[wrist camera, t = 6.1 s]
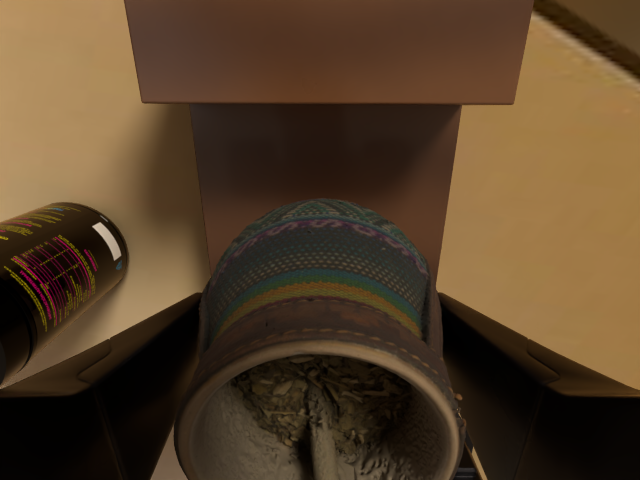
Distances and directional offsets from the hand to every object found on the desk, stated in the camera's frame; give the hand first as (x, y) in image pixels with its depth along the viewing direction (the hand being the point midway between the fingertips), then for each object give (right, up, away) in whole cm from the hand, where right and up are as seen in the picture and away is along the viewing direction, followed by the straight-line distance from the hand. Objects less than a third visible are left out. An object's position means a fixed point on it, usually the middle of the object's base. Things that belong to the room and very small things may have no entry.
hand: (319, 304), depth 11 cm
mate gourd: (0, +1, +3) cm, 3 cm away
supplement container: (-16, +2, +12) cm, 20 cm away
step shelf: (0, +7, +10) cm, 12 cm away
